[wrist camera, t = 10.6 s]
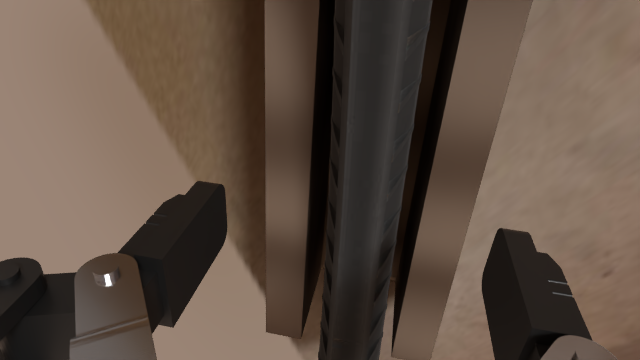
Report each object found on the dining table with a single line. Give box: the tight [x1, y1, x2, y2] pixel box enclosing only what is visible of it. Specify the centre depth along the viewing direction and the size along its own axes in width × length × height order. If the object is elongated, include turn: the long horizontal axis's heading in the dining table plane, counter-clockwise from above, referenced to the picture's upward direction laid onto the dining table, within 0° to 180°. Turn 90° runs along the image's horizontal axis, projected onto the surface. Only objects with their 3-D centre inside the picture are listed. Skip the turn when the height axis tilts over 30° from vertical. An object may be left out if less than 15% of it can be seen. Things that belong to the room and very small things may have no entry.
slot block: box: [265, 0, 533, 360], centre depth 21 cm, size 24×9×7 cm, turn 176°
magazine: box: [318, 0, 433, 360], centre depth 19 cm, size 17×3×30 cm
